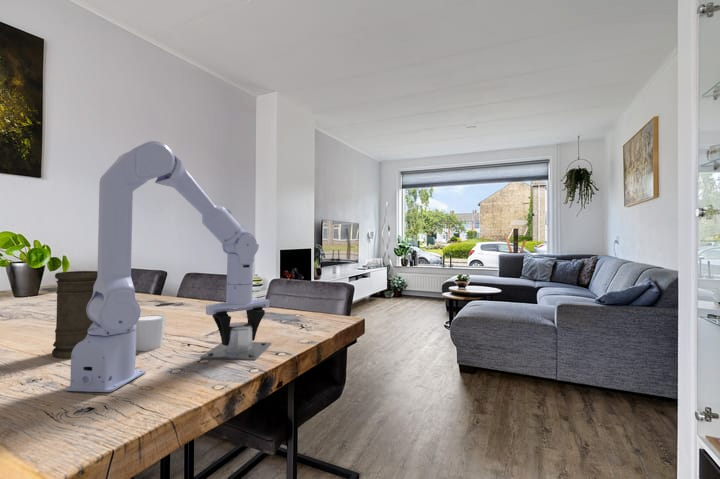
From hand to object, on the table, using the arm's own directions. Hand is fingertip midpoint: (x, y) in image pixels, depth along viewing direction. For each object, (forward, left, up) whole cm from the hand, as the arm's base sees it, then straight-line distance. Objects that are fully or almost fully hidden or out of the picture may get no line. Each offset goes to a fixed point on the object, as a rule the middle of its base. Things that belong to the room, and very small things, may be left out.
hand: (238, 342), depth 83 cm
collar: (0, 0, -2) cm, 2 cm away
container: (-4, +35, -2) cm, 35 cm away
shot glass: (+1, +22, -2) cm, 22 cm away
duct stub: (0, 0, -2) cm, 2 cm away
